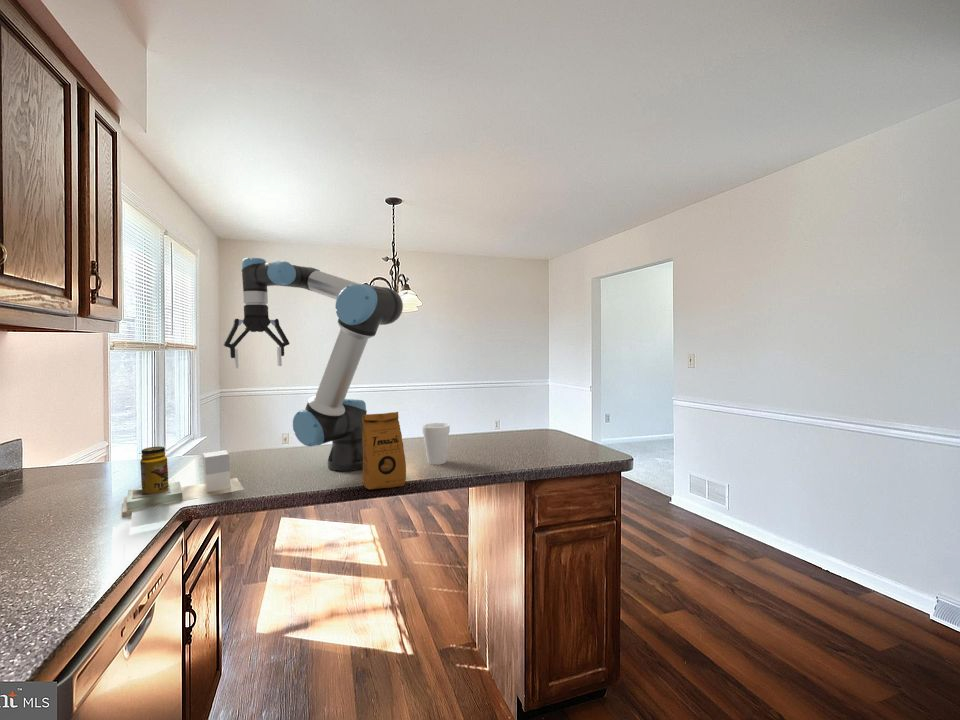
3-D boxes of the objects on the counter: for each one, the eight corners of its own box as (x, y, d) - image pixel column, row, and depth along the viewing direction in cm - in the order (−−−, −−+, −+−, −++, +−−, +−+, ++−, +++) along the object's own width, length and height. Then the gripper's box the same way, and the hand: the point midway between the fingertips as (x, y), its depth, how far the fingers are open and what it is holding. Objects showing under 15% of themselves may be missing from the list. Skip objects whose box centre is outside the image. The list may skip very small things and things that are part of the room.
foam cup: (419, 465, 161) (418, 427, 161) (428, 457, 170) (427, 422, 170) (445, 466, 159) (444, 428, 158) (453, 459, 168) (452, 423, 167)
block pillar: (227, 482, 141) (226, 450, 141) (230, 487, 136) (228, 454, 136) (204, 486, 138) (202, 453, 137) (206, 492, 133) (205, 457, 132)
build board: (236, 481, 146) (236, 471, 146) (244, 493, 135) (244, 482, 135) (124, 501, 130) (123, 490, 130) (122, 516, 119) (121, 504, 119)
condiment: (170, 492, 127) (168, 448, 126) (131, 499, 122) (129, 453, 122) (170, 485, 133) (167, 443, 133) (133, 491, 128) (130, 448, 128)
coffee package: (408, 488, 137) (406, 413, 136) (364, 493, 133) (362, 417, 132) (402, 478, 146) (400, 408, 145) (361, 483, 142) (359, 411, 141)
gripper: (291, 306, 170) (293, 364, 171) (212, 304, 155) (215, 368, 156) (296, 304, 164) (299, 365, 165) (215, 303, 149) (218, 369, 150)
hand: (258, 366), depth 161 cm, fingers open, 13 cm apart
